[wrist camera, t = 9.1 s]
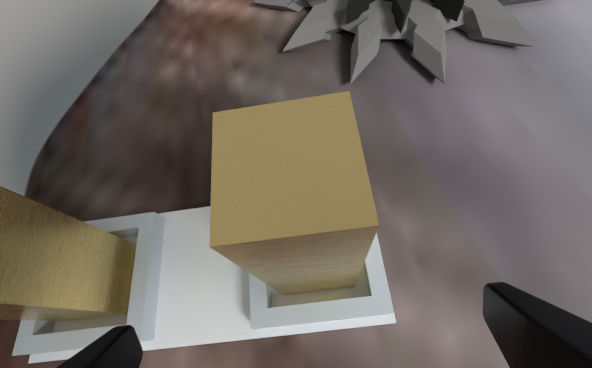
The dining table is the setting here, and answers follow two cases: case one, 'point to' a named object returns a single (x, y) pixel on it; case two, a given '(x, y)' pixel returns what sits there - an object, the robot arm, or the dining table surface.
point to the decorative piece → (403, 26)
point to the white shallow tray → (206, 295)
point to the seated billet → (59, 265)
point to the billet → (292, 193)
